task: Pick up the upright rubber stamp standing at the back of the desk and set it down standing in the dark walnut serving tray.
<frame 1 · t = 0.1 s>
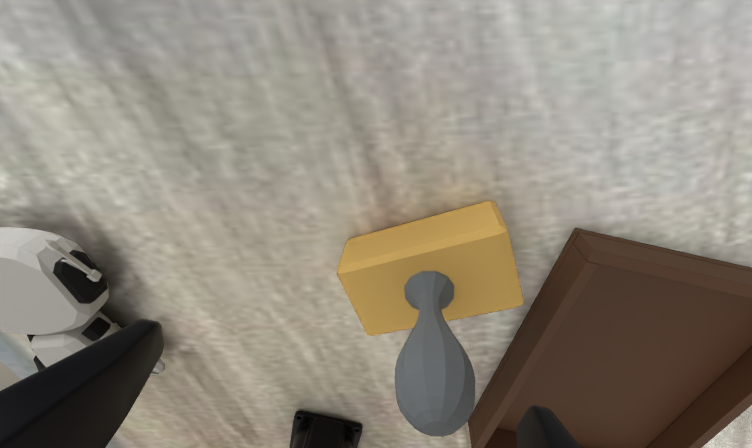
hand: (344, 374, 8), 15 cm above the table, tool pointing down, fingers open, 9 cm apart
rubber stamp: (427, 253, 24), on the table
tray: (610, 364, 27), on the table
robot toy: (83, 292, 29), on the table
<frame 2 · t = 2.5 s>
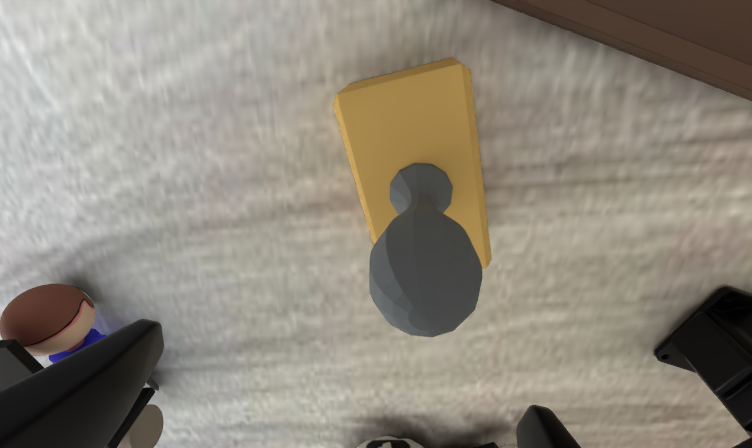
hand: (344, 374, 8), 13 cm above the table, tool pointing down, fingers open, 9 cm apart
rubber stamp: (418, 164, 20), on the table
figurine character: (116, 342, 30), on the table
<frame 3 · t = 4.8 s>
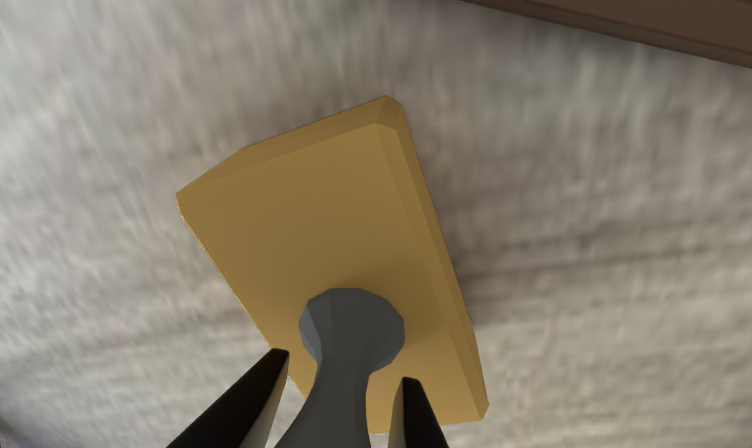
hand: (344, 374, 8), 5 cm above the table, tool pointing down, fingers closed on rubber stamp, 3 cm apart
rubber stamp: (366, 250, 13), on the table, touching gripper
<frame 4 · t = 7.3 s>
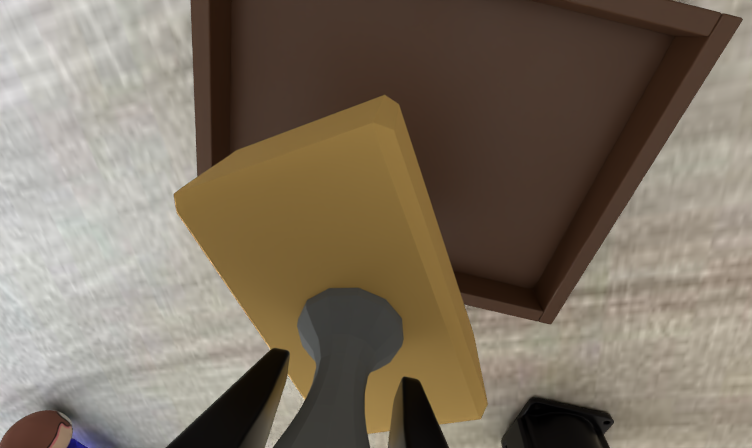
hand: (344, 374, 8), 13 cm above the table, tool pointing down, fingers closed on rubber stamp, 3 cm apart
rubber stamp: (365, 250, 13), point 8 cm above the table, touching gripper
tray: (412, 140, 19), on the table
figurine character: (95, 443, 37), on the table
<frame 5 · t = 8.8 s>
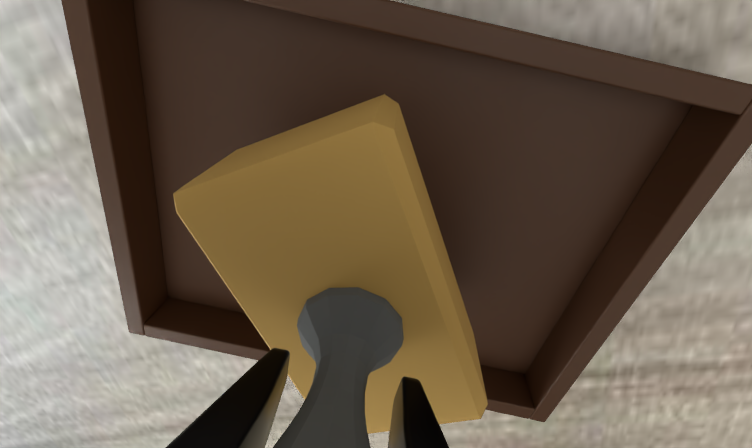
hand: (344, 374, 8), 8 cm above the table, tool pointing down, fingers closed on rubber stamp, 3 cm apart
rubber stamp: (365, 250, 13), point 3 cm above the table, touching gripper
tray: (375, 214, 16), on the table
when the fingers open (6 cm above the table, at t = 9.8 s): rubber stamp stays where it is, resting on tray.
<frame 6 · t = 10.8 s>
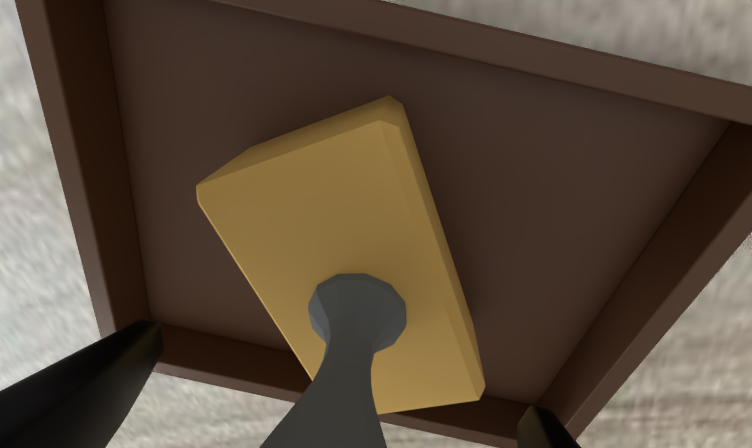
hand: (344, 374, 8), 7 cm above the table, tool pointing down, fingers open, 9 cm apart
rubber stamp: (370, 242, 14), resting on tray
tray: (374, 236, 14), on the table
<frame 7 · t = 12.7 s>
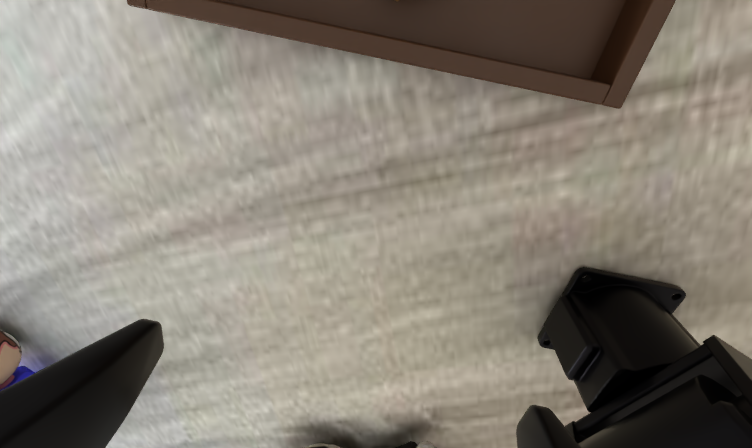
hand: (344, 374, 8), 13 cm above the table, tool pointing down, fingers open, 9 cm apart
figurine character: (54, 376, 32), on the table
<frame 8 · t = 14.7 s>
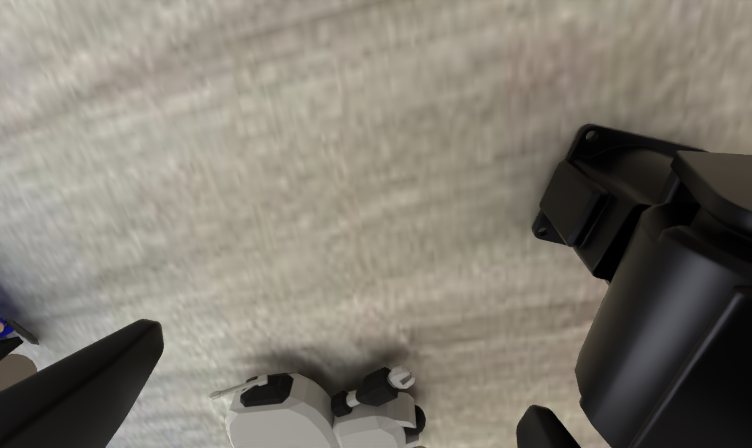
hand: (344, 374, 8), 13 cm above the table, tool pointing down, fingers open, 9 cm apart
robot toy: (335, 395, 30), on the table
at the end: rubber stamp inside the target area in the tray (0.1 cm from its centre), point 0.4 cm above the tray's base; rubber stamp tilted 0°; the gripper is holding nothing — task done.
